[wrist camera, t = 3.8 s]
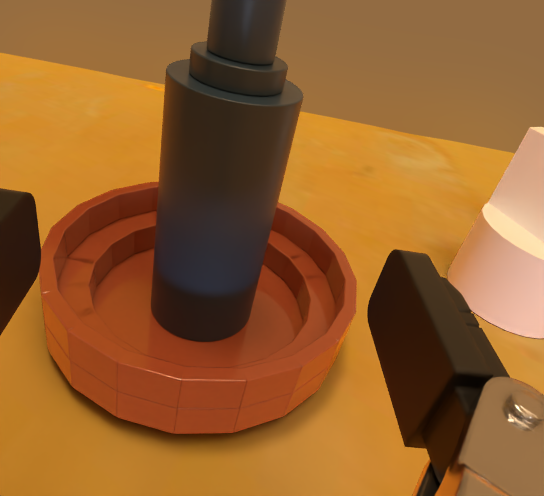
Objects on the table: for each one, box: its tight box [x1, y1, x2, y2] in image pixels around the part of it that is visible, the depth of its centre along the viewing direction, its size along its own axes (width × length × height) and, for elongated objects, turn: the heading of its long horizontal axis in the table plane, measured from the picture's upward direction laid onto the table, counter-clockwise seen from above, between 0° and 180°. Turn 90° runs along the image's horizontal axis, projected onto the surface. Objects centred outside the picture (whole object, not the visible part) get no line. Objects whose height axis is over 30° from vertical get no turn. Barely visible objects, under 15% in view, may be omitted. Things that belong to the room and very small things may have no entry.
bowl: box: [39, 182, 357, 434], centre depth 25 cm, size 16×16×4 cm
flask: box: [151, 0, 303, 342], centre depth 21 cm, size 6×6×18 cm
